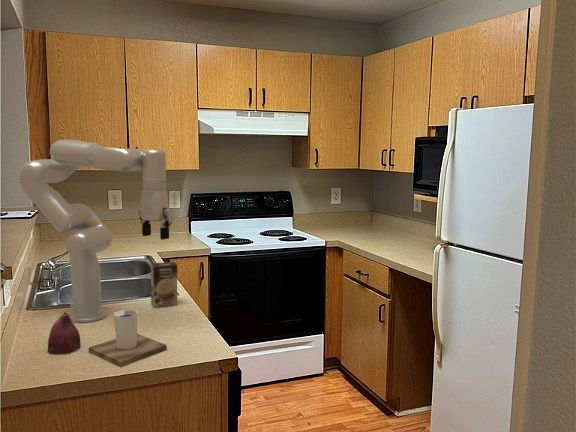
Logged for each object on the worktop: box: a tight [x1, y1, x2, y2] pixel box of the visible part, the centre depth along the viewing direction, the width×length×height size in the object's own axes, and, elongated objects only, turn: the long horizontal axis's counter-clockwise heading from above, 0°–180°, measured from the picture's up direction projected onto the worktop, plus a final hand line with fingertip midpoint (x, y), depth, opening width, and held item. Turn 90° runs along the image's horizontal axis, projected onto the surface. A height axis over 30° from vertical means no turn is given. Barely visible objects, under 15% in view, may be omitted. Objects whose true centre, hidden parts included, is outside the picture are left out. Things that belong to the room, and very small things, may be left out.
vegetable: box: [47, 311, 81, 355], centre depth 154 cm, size 10×9×14 cm
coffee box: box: [150, 261, 178, 308], centre depth 199 cm, size 9×6×16 cm
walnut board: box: [88, 333, 168, 368], centre depth 154 cm, size 16×16×2 cm
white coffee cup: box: [113, 309, 138, 349], centre depth 154 cm, size 7×7×10 cm
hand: (155, 237), depth 175 cm, fingers open, 9 cm apart
